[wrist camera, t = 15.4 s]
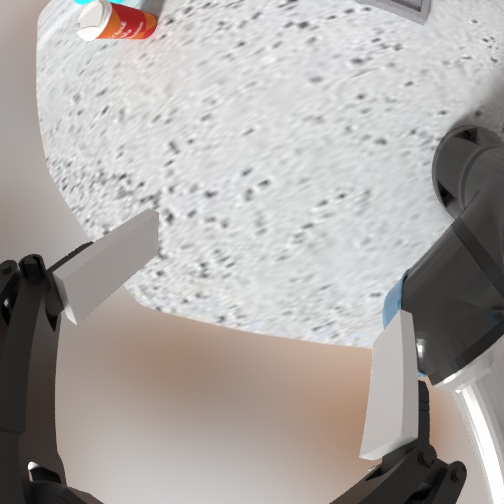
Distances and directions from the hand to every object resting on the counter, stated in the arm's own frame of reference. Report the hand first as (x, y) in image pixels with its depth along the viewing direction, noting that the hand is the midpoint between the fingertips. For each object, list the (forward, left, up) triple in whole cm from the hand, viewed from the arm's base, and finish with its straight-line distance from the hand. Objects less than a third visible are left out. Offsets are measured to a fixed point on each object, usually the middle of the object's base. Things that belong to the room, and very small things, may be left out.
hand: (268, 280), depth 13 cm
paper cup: (+38, -18, -31) cm, 52 cm away
